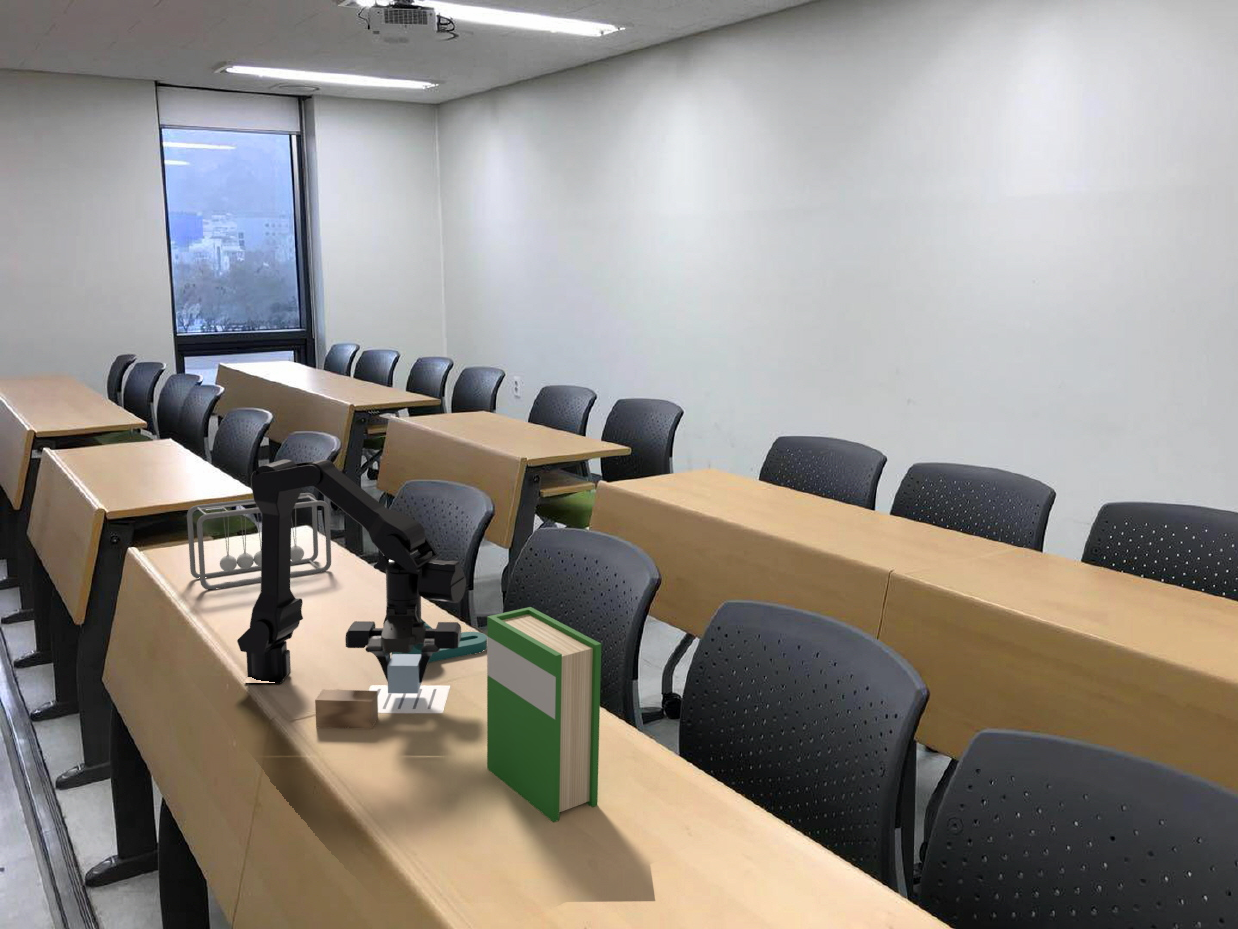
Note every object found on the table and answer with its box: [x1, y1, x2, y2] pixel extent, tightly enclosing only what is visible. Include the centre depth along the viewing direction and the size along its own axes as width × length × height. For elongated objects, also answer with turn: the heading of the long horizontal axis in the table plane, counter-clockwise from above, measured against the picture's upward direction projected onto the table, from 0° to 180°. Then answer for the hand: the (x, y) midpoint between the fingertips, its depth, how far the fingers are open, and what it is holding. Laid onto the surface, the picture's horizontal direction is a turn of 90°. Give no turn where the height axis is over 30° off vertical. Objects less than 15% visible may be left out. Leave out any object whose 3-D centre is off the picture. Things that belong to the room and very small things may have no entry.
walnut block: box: [314, 688, 379, 730], centre depth 160 cm, size 9×4×5 cm, turn 90°
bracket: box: [391, 618, 487, 664], centre depth 189 cm, size 18×7×8 cm, turn 122°
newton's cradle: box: [186, 492, 332, 590], centre depth 232 cm, size 30×10×18 cm, turn 126°
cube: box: [387, 654, 422, 694], centre depth 168 cm, size 5×5×5 cm
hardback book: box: [486, 606, 602, 823], centre depth 140 cm, size 18×7×24 cm, turn 38°
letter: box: [368, 684, 451, 714], centre depth 169 cm, size 14×11×1 cm
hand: (405, 681), depth 169 cm, fingers closed on cube, 5 cm apart
